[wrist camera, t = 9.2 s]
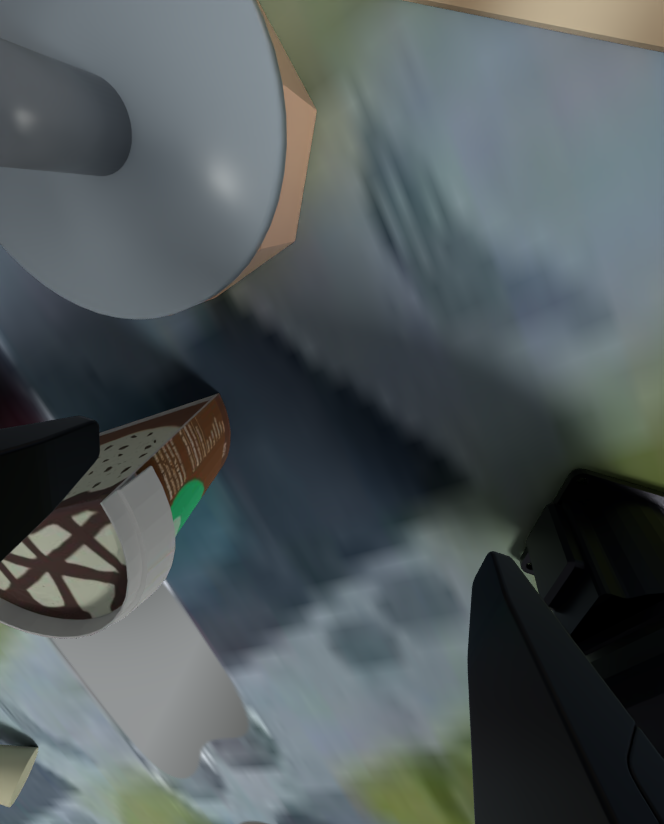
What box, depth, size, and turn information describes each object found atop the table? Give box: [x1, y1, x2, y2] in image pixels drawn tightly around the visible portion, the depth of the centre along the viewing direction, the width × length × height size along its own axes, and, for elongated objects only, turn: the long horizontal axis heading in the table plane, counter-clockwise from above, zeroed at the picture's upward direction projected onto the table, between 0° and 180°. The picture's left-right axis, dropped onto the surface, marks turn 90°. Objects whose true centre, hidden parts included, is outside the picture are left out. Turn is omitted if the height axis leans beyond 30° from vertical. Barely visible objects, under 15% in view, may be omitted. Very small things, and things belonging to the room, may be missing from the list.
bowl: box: [168, 0, 317, 316], centre depth 17 cm, size 12×12×4 cm
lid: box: [0, 0, 287, 319], centre depth 13 cm, size 12×12×5 cm
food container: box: [0, 393, 231, 639], centre depth 21 cm, size 12×6×10 cm, turn 113°
